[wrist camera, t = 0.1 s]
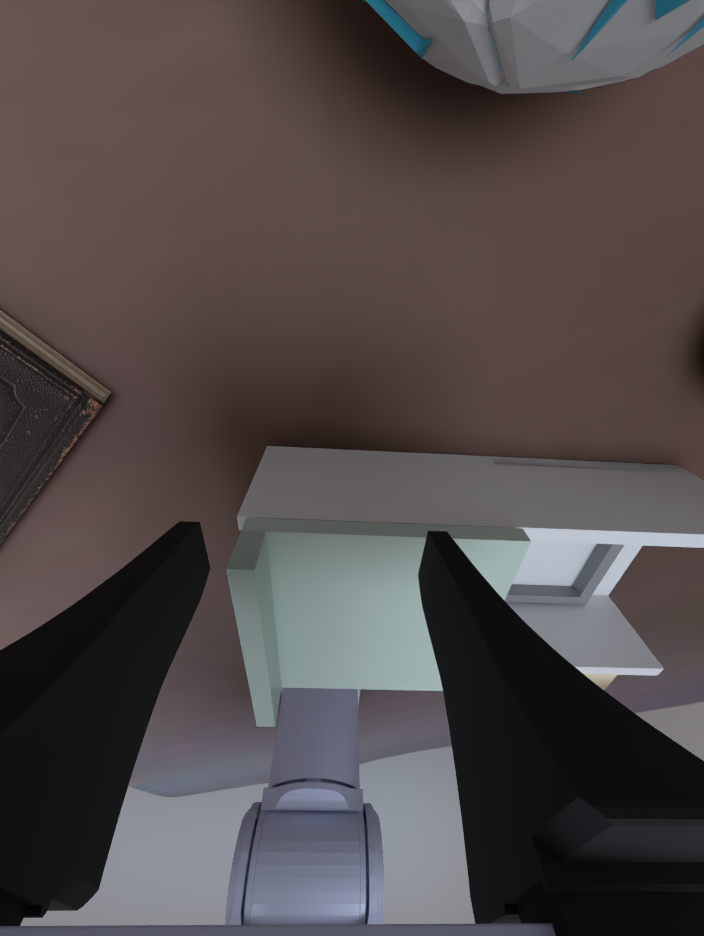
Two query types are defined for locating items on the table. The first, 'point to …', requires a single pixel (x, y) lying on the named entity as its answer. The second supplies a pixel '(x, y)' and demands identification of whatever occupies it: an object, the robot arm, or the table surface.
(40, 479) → the hardcover book
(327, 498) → the housing
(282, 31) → the table surface
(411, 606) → the lid
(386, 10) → the puzzle ball
